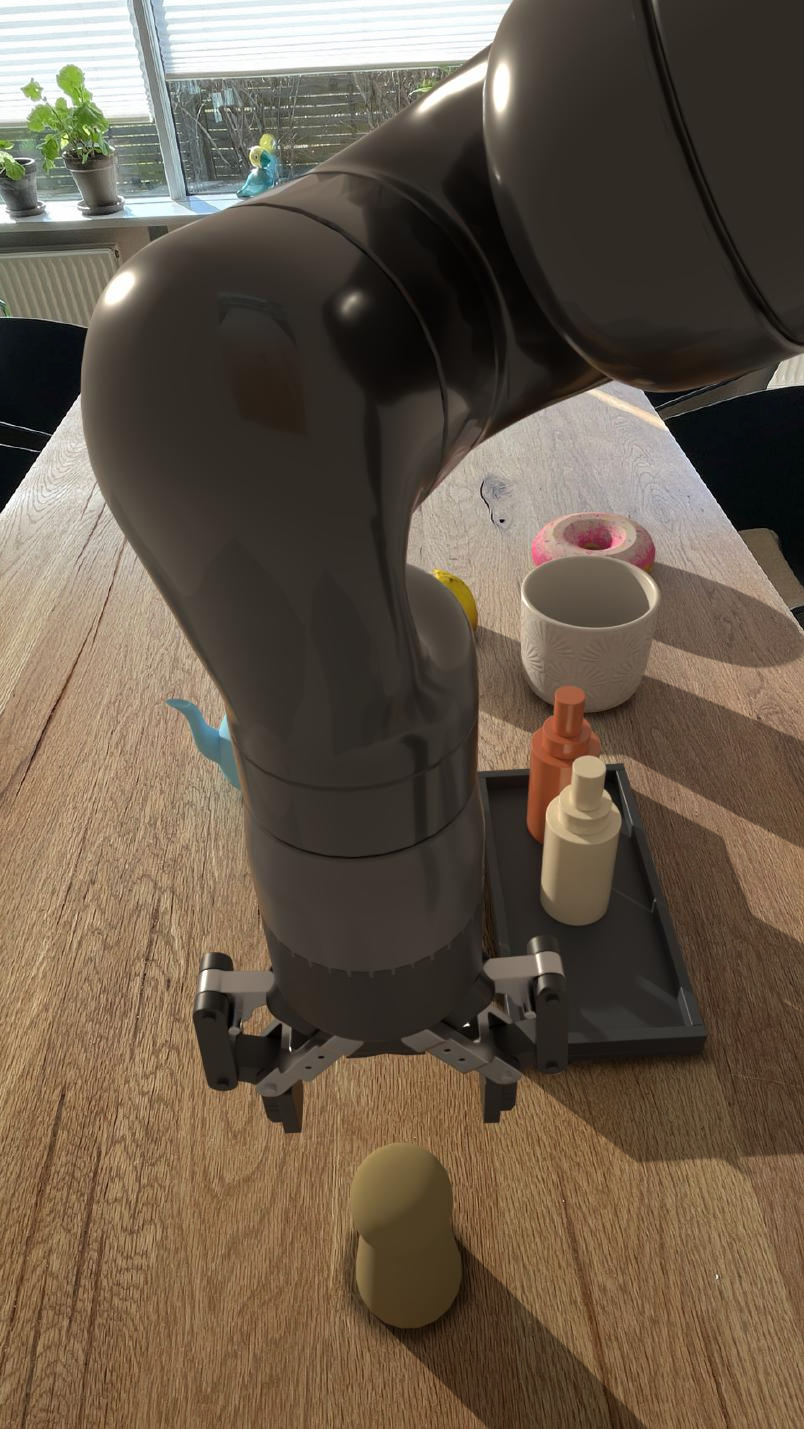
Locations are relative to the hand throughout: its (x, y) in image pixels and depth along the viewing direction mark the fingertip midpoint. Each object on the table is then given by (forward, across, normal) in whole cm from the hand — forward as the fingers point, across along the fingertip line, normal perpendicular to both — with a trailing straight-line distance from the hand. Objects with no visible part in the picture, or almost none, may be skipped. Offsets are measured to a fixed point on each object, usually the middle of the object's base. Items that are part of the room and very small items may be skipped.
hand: (392, 1107), depth 42 cm
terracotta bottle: (+18, +14, +32) cm, 39 cm away
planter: (+19, +19, +51) cm, 57 cm away
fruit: (+19, +4, +60) cm, 63 cm away
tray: (+18, +14, +25) cm, 34 cm away
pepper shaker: (+19, 0, 0) cm, 19 cm away
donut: (+19, +24, +71) cm, 77 cm away
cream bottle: (+18, +14, +25) cm, 33 cm away
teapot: (+19, -9, +41) cm, 46 cm away
